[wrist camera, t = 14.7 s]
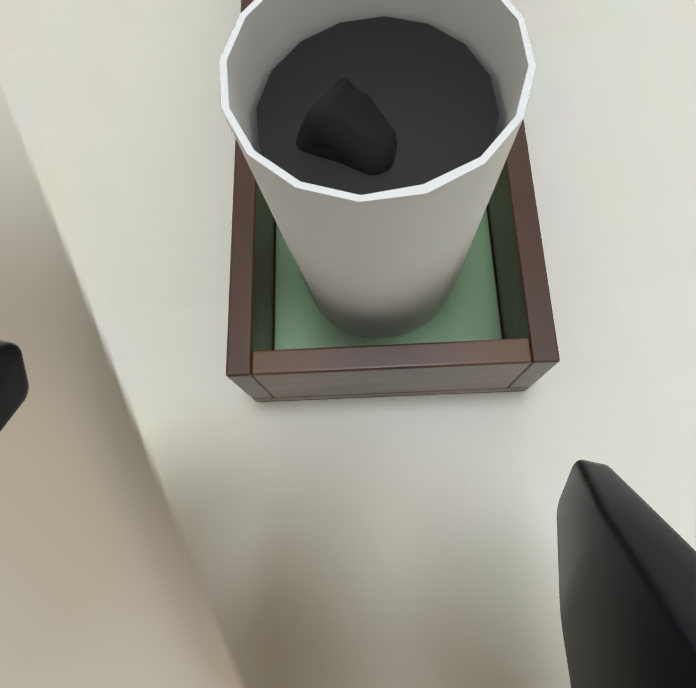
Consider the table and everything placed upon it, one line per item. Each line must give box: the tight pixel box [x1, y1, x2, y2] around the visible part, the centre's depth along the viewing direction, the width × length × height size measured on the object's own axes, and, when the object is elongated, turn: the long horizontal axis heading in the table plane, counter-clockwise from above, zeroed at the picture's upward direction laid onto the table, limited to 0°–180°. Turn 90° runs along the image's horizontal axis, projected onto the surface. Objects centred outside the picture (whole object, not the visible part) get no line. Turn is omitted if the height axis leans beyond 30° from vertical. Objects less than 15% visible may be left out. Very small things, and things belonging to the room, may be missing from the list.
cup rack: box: [226, 0, 560, 402], centre depth 22 cm, size 10×29×4 cm, turn 1°
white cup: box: [220, 0, 536, 339], centre depth 16 cm, size 7×7×10 cm
